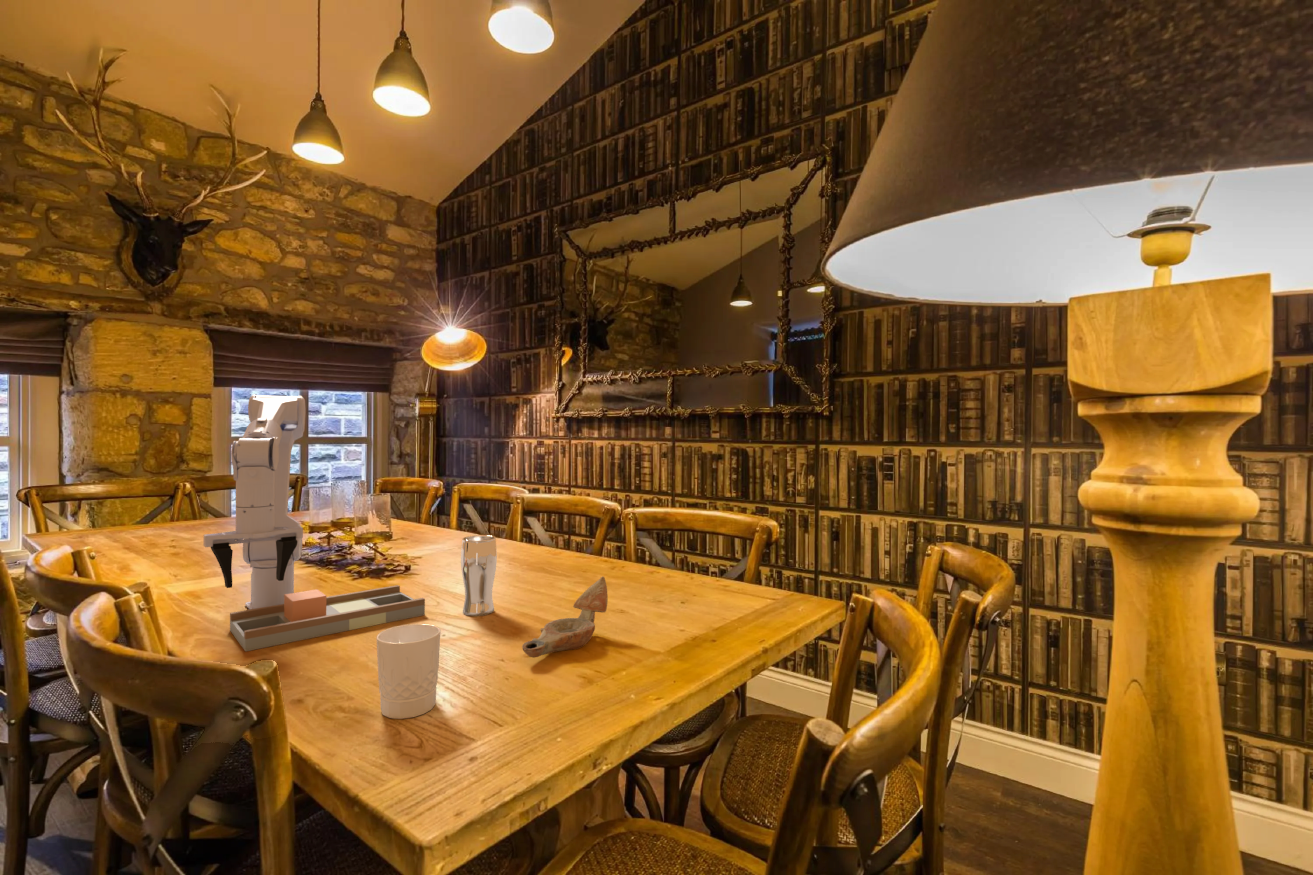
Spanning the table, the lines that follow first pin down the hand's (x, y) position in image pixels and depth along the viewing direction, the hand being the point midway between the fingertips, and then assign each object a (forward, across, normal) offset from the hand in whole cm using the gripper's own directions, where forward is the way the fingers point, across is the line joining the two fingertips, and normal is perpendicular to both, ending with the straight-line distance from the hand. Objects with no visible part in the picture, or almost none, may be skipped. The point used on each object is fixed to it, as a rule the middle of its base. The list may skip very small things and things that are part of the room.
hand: (254, 583), depth 108 cm
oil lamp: (+10, +38, -40) cm, 56 cm away
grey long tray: (+9, +12, 0) cm, 16 cm away
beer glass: (+10, +36, -12) cm, 40 cm away
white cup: (+10, +9, -45) cm, 47 cm away
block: (+8, +8, 0) cm, 11 cm away
